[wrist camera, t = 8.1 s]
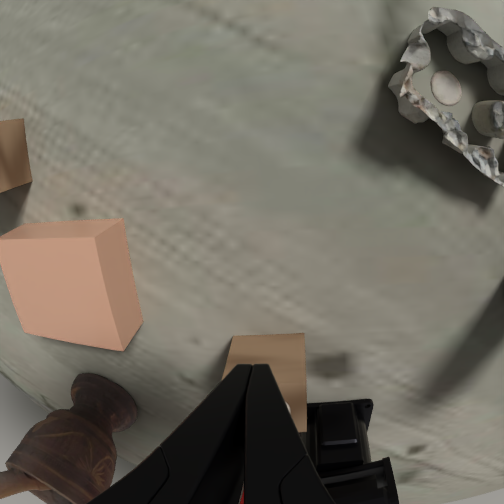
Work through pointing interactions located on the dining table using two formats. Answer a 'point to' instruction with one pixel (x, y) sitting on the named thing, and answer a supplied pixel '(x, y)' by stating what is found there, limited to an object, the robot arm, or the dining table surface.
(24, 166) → the tagged walnut block
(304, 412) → the tagged walnut block
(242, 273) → the dining table surface
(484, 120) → the egg carton
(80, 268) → the terracotta slab
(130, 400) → the mortar and pestle
